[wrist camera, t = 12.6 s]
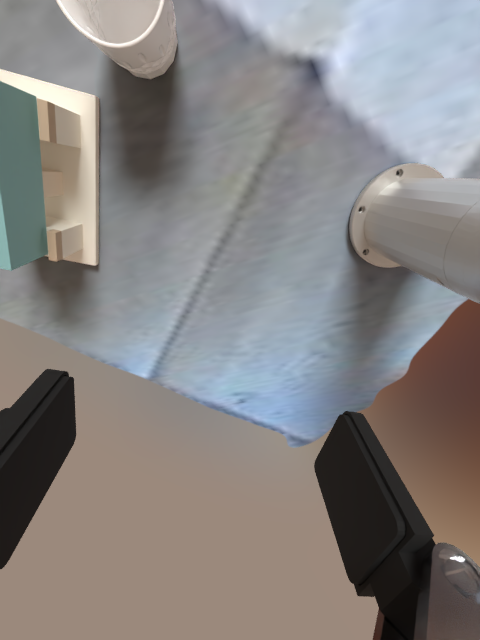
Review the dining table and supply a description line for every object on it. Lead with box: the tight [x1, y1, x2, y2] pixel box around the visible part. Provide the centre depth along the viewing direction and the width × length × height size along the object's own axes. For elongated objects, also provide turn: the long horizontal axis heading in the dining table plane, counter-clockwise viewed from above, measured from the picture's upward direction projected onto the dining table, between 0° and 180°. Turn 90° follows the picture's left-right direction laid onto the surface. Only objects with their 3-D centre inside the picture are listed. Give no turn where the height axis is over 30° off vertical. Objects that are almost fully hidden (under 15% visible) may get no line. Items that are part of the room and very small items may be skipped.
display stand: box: [0, 69, 99, 266], centre depth 29 cm, size 10×18×7 cm, turn 167°
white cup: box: [56, 0, 178, 79], centre depth 23 cm, size 8×8×10 cm
